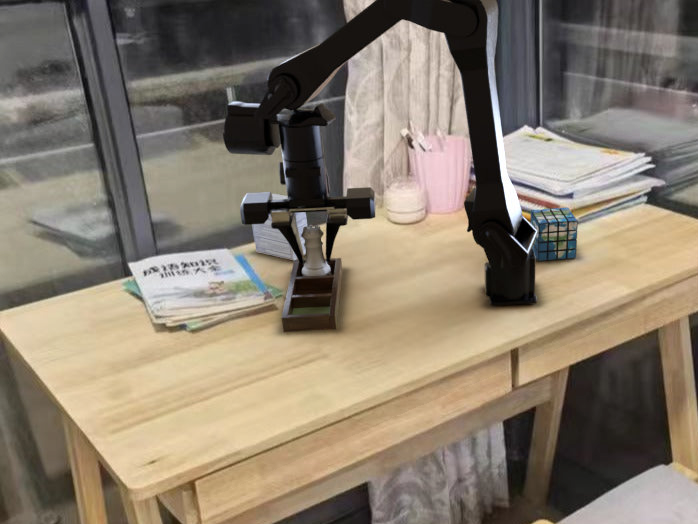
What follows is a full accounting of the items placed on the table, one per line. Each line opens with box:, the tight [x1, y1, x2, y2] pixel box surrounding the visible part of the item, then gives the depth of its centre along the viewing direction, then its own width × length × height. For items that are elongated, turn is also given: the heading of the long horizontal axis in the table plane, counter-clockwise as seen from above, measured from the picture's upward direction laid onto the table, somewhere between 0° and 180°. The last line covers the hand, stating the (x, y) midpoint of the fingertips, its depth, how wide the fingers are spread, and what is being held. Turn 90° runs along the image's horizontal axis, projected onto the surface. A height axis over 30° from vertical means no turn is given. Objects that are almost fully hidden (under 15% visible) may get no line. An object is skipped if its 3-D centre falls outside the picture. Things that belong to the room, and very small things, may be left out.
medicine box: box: [251, 192, 309, 261], centre depth 148 cm, size 8×4×9 cm, turn 58°
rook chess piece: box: [301, 224, 332, 277], centre depth 138 cm, size 4×4×8 cm
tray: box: [281, 257, 344, 333], centre depth 134 cm, size 7×20×2 cm, turn 3°
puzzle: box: [529, 207, 579, 262], centre depth 145 cm, size 6×6×6 cm
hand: (315, 262), depth 139 cm, fingers closed on rook chess piece, 3 cm apart
